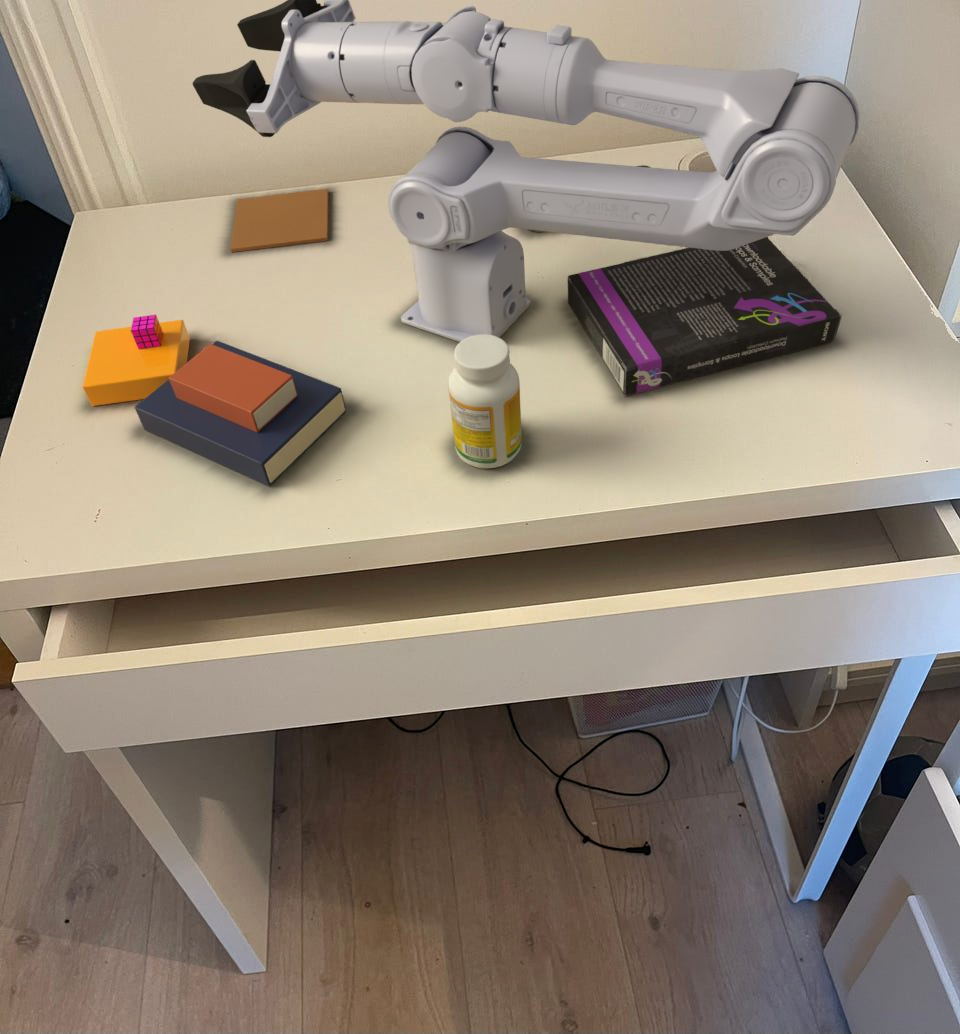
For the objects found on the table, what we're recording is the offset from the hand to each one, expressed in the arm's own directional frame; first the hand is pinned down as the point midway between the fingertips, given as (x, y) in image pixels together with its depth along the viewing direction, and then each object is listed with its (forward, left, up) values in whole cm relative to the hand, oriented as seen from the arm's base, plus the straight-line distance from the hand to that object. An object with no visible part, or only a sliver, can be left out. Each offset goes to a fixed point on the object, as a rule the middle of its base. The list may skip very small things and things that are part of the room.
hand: (222, 61), depth 80 cm
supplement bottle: (-32, +11, -21) cm, 40 cm away
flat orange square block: (+1, +18, -21) cm, 27 cm away
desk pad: (+6, -8, -21) cm, 23 cm away
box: (-40, -11, -21) cm, 46 cm away
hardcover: (-12, +18, -21) cm, 30 cm away
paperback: (-12, +18, -18) cm, 28 cm away
